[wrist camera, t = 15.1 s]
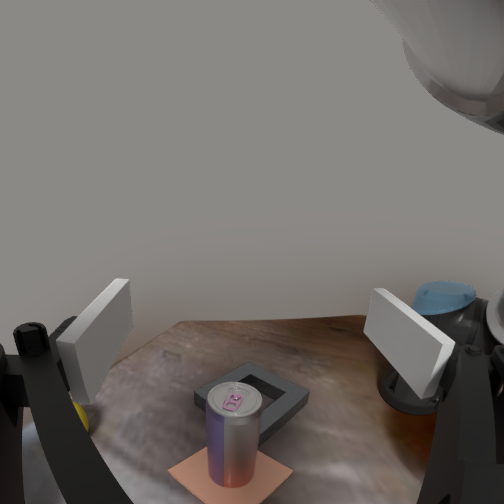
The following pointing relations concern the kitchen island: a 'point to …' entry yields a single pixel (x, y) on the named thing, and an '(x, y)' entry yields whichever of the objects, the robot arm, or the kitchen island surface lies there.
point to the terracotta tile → (230, 499)
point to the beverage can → (233, 433)
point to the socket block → (267, 383)
